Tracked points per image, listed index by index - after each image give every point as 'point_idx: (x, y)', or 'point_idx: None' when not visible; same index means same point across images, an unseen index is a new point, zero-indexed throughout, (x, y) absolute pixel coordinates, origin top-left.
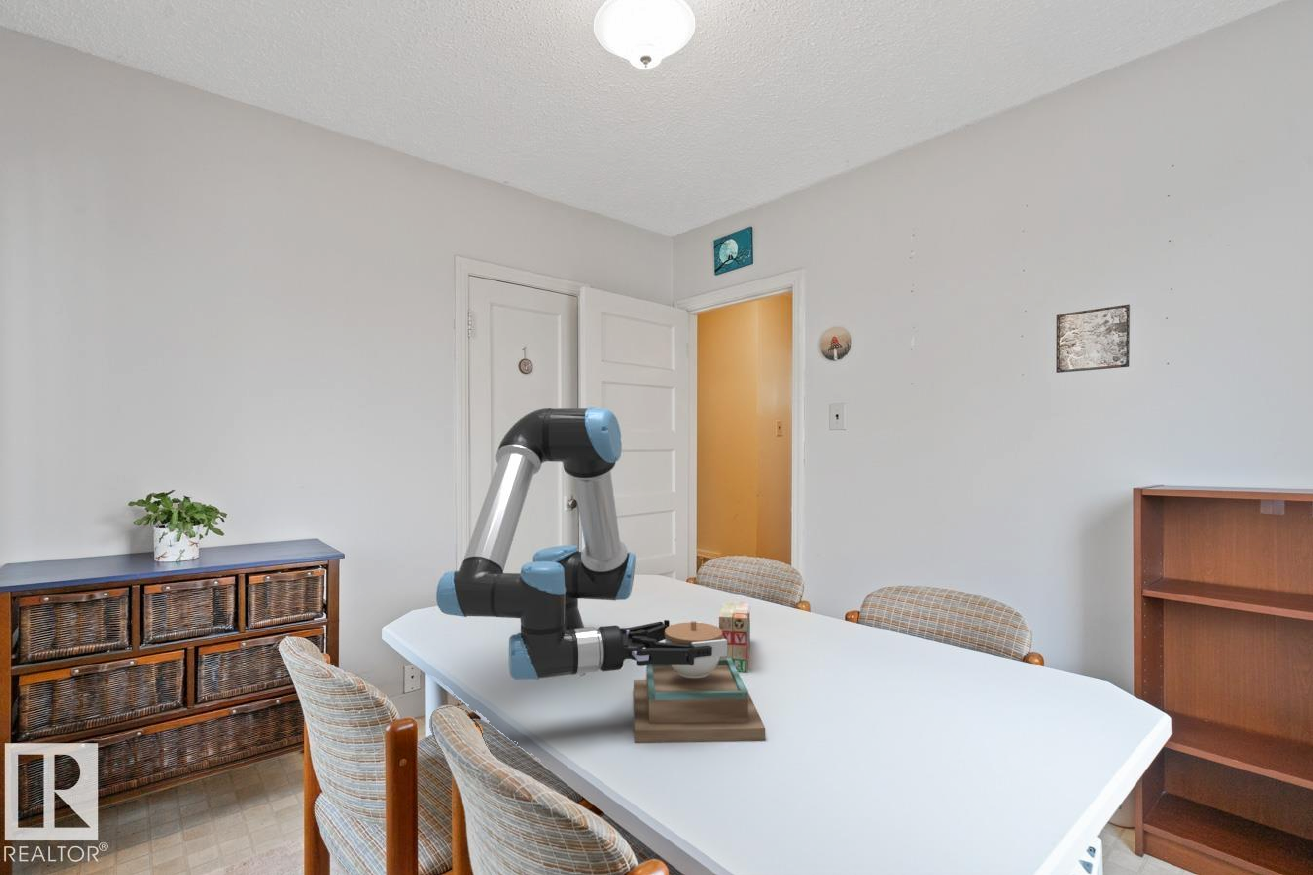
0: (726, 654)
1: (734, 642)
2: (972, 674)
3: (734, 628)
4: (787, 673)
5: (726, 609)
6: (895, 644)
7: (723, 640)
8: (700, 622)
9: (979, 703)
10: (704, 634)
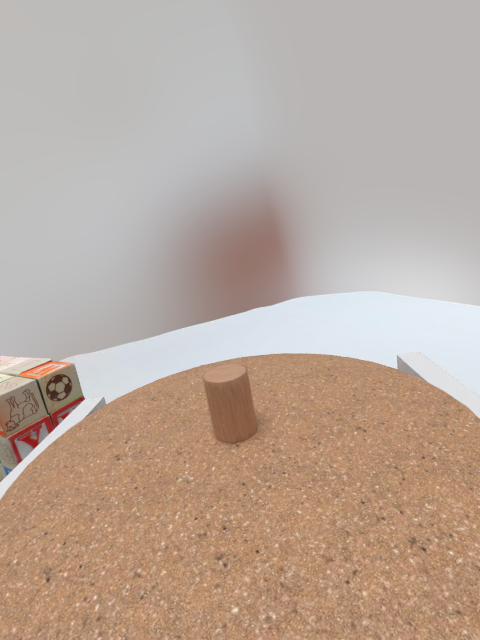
0: None
1: None
2: (264, 323)
3: (51, 405)
4: None
5: None
6: (167, 341)
7: (425, 360)
8: (88, 404)
9: (331, 328)
10: (364, 394)
